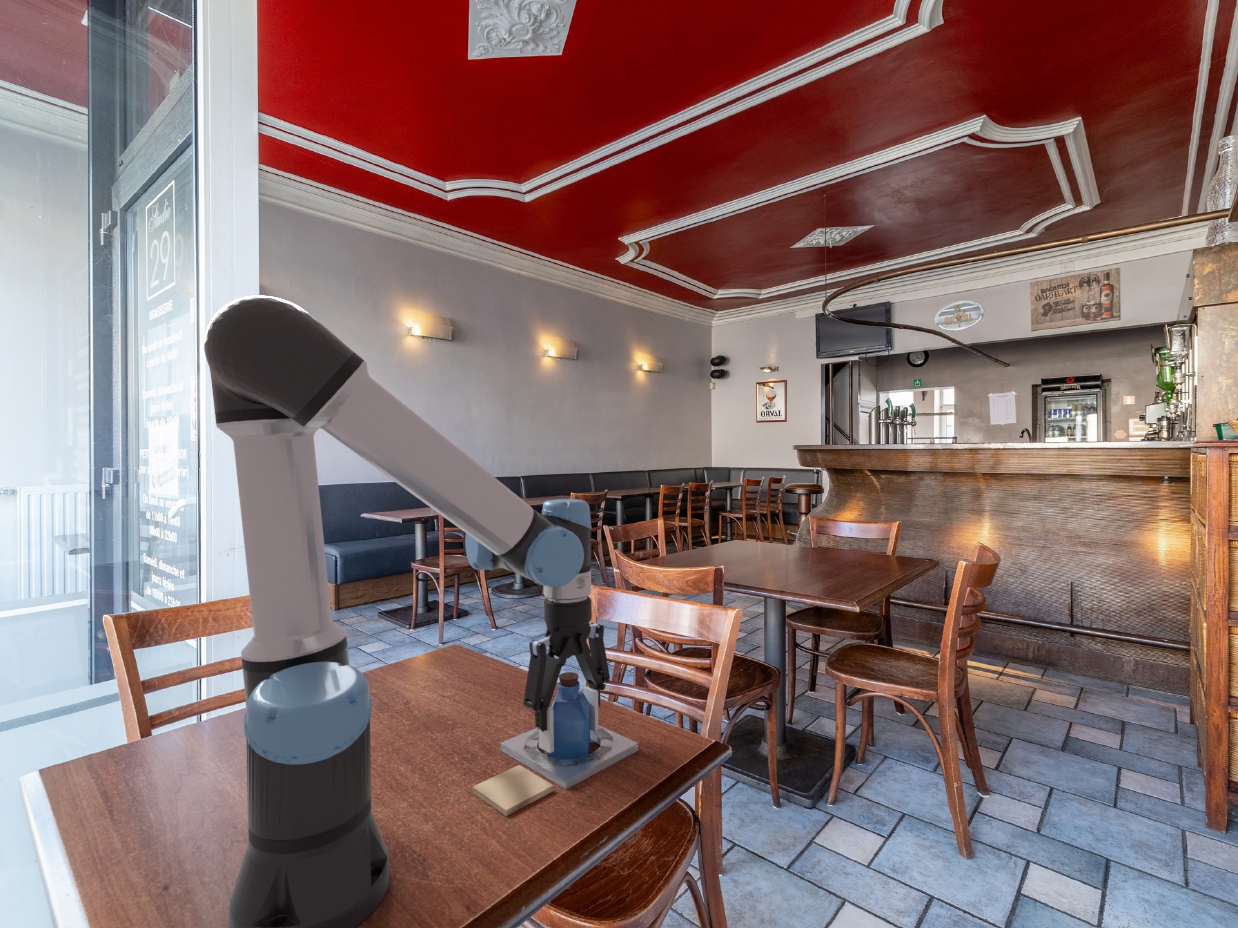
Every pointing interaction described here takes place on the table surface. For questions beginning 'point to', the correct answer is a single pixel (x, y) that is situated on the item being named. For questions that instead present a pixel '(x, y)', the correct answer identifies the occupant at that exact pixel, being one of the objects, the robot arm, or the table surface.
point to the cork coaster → (512, 789)
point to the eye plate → (570, 769)
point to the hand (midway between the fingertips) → (569, 738)
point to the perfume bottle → (570, 719)
